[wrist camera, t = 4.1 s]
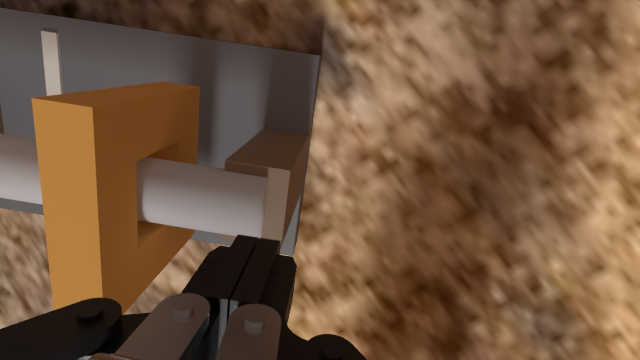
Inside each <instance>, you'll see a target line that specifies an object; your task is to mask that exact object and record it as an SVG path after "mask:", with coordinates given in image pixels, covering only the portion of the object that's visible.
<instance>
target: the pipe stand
mask: <svg viewBox="0 0 640 360" xmlns="http://www.w3.org/2000/svg"><path fill="white" fill-rule="evenodd" d="M321 58H322V56H320V55H314V54H307V53H300V52H294V51H287V50H280V49H274V48H267V47H260V46H254V45H247V44H240V43H234V42H227V41H220V40H214V39H207V38H200V37H194V36H187V35H180V34H174V33H167V32H160V31H154V30H147V29H140V28H134V27H127V26H120V25H114V24H107V23H100V22H94V21H87V20H80V19H74V18H67V17H60V16H54V15H47V14H40V13H34V12H27V11H20V10H14V9H7V8H0V208H4V209H10V210H17V211H23V212H29V213H35V214H41V215H44V212H43V203H42V193H41V183H40V174H39V164H38V155H37V145H36V136H35V126H34V117H33V107H32V98H35V97H43V96H51V95H59V94H67V93H75V92H82V91H90V90H98V89H106V88H114V87H122V86H130V85H138V84H146V83H154V82H162V81H166V82H173V83H179V84H186V85H192V86H199V87H200V96H199V123H198V149H197V165H196V164H190V163H184V162H177V161H171V160H165V159H158V158H152V157H145V158H143V159H141V160H139V161H137V162H136V177H137V220H140V221H146V222H152V223H158V224H164V225H170V226H176V227H183V228H189V229H195V230H194V235H193V236H192V237H191V238H190V239H193V240H199V241H205V242H211V243H217V244H223V245H229V246H231V245H232V243H233V241H234V240H235V238H236V236H237V235H238V234H239V235H246V236H252V237H259V239H260V238H266V239H272V240H279V241H281V248H280V254H284V255H290V256H293V253H294V249H295V246H296V241H297V234H298V227H299V219H300V212H301V205H302V197H303V190H304V183H305V175H306V168H307V161H308V153H309V146H310V138H311V131H312V124H313V116H314V109H315V102H316V94H317V87H318V80H319V72H320V65H321Z"/></svg>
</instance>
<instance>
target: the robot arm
mask: <svg viewBox="0 0 640 360" xmlns="http://www.w3.org/2000/svg"><path fill="white" fill-rule="evenodd" d="M280 248H281V241H279V240H272V239H266V238H260V239H259V237H252V236H246V235H239V234H238V235H237V236H236V238H235V240H234V241H233V243H232V245H231V246H230V247H224V246H219V247H218V248H216V249H214V250H213V251H211V252H209V253H208V255H207V256H206V258H205V259H204V261H203V263H202V264H201V265H200V266H199V268H198V271H196V272H195V274H194V275H193V277H192V278H191V279H190V281H189V282H188V284H187V285H186V287H185V288H184V290H183V291H182V292H181V293H180V294H175V295H172V296H169V297H167V298H165V299H164V300H162V301H161V302H160V303H159V304H158V305H157V306H156V307H155V308H154V310H153V311H152V312H150V313H142V314H129V315H122V308H121V305H120V304H119V303H118V302H117V301H115V300H113V299H109V298H90V299H86V300H82V301H79V302H76V303H74V304H71V305H68V306H65V307H62V308H59V309H56V310H54V311H51V312H48V313H45V314H42V315H39V316H36V317H34V318H31V319H28V320H25V321H22V322H19V323H17V324H14V325H11V326H8V327H5V328H2V329H0V360H366V358H365V357H364V356H363V355H362V354H361V353H360V352H359V351H358V350H357V349H356V348H355V347H354V345H353V344H351V343H350V342H349V341H348V340H346V339H344V338H342V337H340V336H337V335H332V334H322V335H317V336H315V337H313V338H311V339H310V340H309V341H307V340H304V339H302V338H300V337H298V336H297V335H295V334H294V333H293V332H292V331H291V330H290V329H289V328H288V326H287V322H288V318H289V313H290V309H291V305H292V298H293V291H294V283H295V276H296V268H297V266H296V263H295V261H294V259H293V257H289V256H283V255H280Z"/></svg>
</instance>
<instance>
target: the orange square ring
mask: <svg viewBox="0 0 640 360" xmlns="http://www.w3.org/2000/svg"><path fill="white" fill-rule="evenodd" d="M199 96H200V87H199V86H192V85H186V84H179V83H173V82H166V81H162V82H154V83H146V84H138V85H130V86H122V87H114V88H106V89H98V90H90V91H82V92H75V93H67V94H59V95H51V96H43V97H35V98H32V107H33V117H34V126H35V136H36V145H37V155H38V164H39V174H40V183H41V193H42V203H43V212H44V222H45V231H46V241H47V250H48V260H49V269H50V279H51V288H52V298H53V307H54V310H56V309H59V308H62V307H65V306H68V305H71V304H74V303H76V302H79V301H82V300H86V299H90V298H109V299H113V300H115V301H117V302H118V303H119V304H120V305H121V308H122V315H123V314H124V313H125V312H126V311H127V309H128V308H129V307H130V306H131V305H132V304H133V303H134V302H135V300H136V299H137V298H138V297H139V296H140V295H141V294H142V292H143V291H144V290H145V289H146V288H147V287H148V286H149V284H150V283H151V282H152V281H153V280H154V279H155V278H156V277H157V275H158V274H159V273H160V272H161V271H162V270H163V269H164V267H165V266H166V265H167V264H168V263H169V262H170V261H171V259H172V258H173V257H174V256H175V255H176V254H177V253H178V252H179V250H180V249H181V248H182V247H183V246H184V245H185V244H186V242H187V241H188V240H189V239H190V238H191V237H192V236H193V235H194V230H195V229H189V228H183V227H176V226H170V225H164V224H158V223H152V222H146V221H140V220H137V177H136V162H137V161H139V160H141V159H143V158H145V157H152V158H158V159H165V160H171V161H177V162H184V163H190V164H196V165H197V149H198V123H199Z"/></svg>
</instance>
